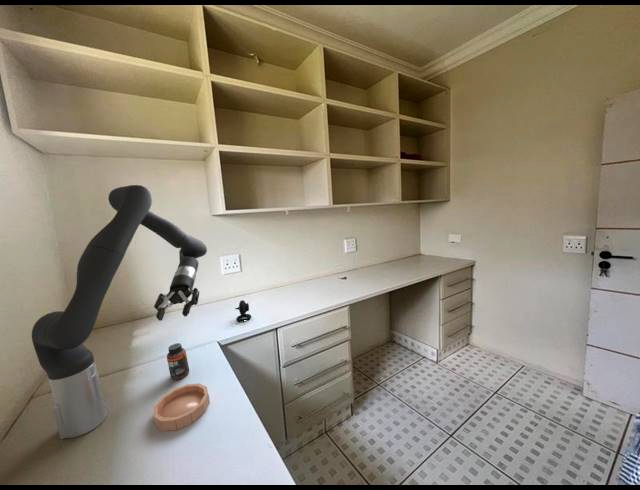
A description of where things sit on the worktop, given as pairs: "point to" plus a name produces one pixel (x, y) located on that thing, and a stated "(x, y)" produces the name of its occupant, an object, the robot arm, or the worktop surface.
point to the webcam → (243, 311)
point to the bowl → (181, 407)
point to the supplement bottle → (177, 361)
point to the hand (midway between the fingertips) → (171, 317)
